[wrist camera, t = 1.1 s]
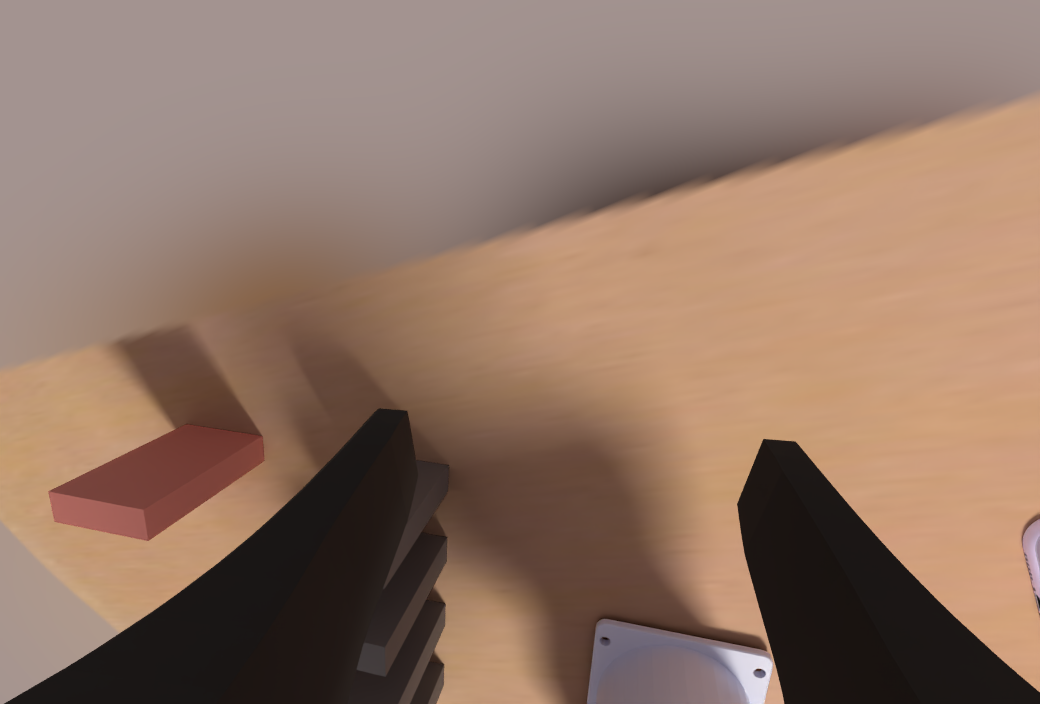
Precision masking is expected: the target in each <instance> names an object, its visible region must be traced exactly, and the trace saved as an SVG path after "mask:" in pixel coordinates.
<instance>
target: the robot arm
mask: <svg viewBox="0 0 1040 704" xmlns="http://www.w3.org/2000/svg"><path fill="white" fill-rule="evenodd" d="M417 479H418V470H417V464H416V458H415V452H414V447H413V441H412V435H411V429H410V423H409V417H408V412H407V411H403V410H391V409H378V410H377V411H376V412H374V414H373V415H372V416H371V417H370V418H369V419H368V420H367V421H366V422H365V423H364V425H363V426H362V427H361V428H360V429H359V430H358V431H357V432H356V433H355V434H354V436H353V437H352V438H351V439H350V440H349V441H348V442H347V443H346V444H345V445H344V446H343V447H342V449H341V450H340V451H339V452H338V453H337V454H336V455H335V456H334V457H333V458H332V459H331V460H330V461H329V462H328V463H327V464H326V465H325V466H324V467H323V468H322V469H321V470H320V471H319V472H318V473H317V474H316V475H315V477H314V478H313V479H312V480H311V481H310V482H309V483H308V484H307V485H306V486H305V487H304V488H303V489H302V490H301V491H300V492H299V493H297V494H296V495H295V496H294V497H293V498H292V499H291V500H290V501H289V502H288V503H287V504H286V505H285V506H284V507H282V508H281V509H280V510H279V511H278V512H277V513H276V514H275V515H274V516H273V517H272V518H271V519H270V520H269V521H267V522H266V523H265V524H264V525H263V526H262V527H261V528H260V529H258V530H257V531H256V532H255V533H254V534H253V535H252V536H250V537H249V538H248V539H247V540H246V541H244V542H243V543H242V544H241V545H240V546H239V547H237V548H236V549H235V550H234V551H232V552H231V553H230V554H229V555H227V556H226V557H225V558H224V559H223V560H221V561H220V562H219V563H218V564H216V565H215V566H214V567H212V568H211V569H210V570H208V571H207V572H206V573H205V574H203V575H202V576H201V577H199V578H198V579H197V580H195V581H194V582H193V583H191V584H190V585H189V586H187V587H186V588H185V589H183V590H182V591H181V592H179V593H178V594H177V595H175V596H174V597H172V598H171V599H170V600H168V601H167V602H165V603H164V604H163V605H161V606H160V607H158V608H157V609H156V610H154V611H153V612H151V613H150V614H148V615H147V616H145V617H144V618H142V619H141V620H139V621H138V622H136V623H135V624H133V625H132V626H130V627H129V628H127V629H126V630H124V631H123V632H121V633H120V634H118V635H116V636H115V637H113V638H112V639H110V640H109V641H107V642H106V643H104V644H103V645H101V646H100V647H98V648H97V649H95V650H94V651H92V652H91V653H89V654H87V655H86V656H84V657H83V658H81V659H79V660H78V661H76V662H75V663H73V664H71V665H70V666H68V667H67V668H65V669H63V670H61V671H60V672H58V673H56V674H54V675H53V676H51V677H49V678H47V679H46V680H44V681H43V682H41V683H39V684H37V685H35V686H34V687H32V688H31V689H29V690H27V691H25V692H23V693H22V694H20V695H18V696H17V697H15V698H13V699H12V700H10V701H8V702H6V703H5V704H348V700H349V696H350V692H351V688H352V684H353V681H354V677H355V673H356V670H357V666H358V662H359V658H360V655H361V651H362V647H363V644H364V641H365V638H366V635H367V631H368V628H369V625H370V622H371V619H372V617H373V614H374V611H375V609H376V606H377V603H378V601H379V598H380V595H381V592H382V590H383V587H384V584H385V582H386V579H387V576H388V573H389V571H390V568H391V565H392V563H393V560H394V557H395V554H396V552H397V549H398V546H399V543H400V541H401V538H402V535H403V532H404V530H405V527H406V524H407V521H408V517H409V513H410V509H411V505H412V501H413V497H414V493H415V488H416V484H417ZM737 506H738V513H739V520H740V528H741V534H742V541H743V547H744V553H745V557H746V561H747V564H748V568H749V572H750V575H751V579H752V583H753V586H754V590H755V594H756V597H757V601H758V604H759V608H760V611H761V615H762V618H763V622H764V626H765V629H766V633H767V636H768V640H769V643H770V647H771V650H772V654H773V658H774V661H775V665H776V668H777V672H778V677H779V681H780V685H781V689H782V693H783V698H784V704H1040V692H1039V691H1037V690H1036V689H1035V688H1034V687H1033V686H1031V685H1030V684H1029V683H1028V682H1027V681H1025V680H1024V679H1023V678H1022V677H1021V676H1020V675H1018V674H1017V673H1016V672H1015V671H1014V670H1013V669H1012V668H1010V667H1009V666H1008V665H1007V664H1006V663H1005V662H1003V661H1002V660H1001V659H1000V658H999V657H998V656H997V655H996V654H994V653H993V652H992V651H991V650H990V649H989V648H988V647H987V646H986V645H985V644H984V643H983V642H981V641H980V640H979V639H978V638H977V637H976V636H975V635H974V634H973V633H972V632H971V631H969V630H968V629H967V628H966V627H965V626H964V625H963V624H962V623H961V622H960V621H959V620H958V619H956V618H955V617H954V616H953V615H952V614H951V613H950V612H949V611H948V610H947V609H946V608H945V607H944V606H943V605H942V604H941V603H940V602H939V601H938V600H937V599H936V598H935V597H934V596H933V595H932V594H931V593H930V592H929V591H928V590H927V589H926V588H925V587H924V586H923V585H922V584H921V583H920V582H919V581H918V580H917V579H916V578H915V577H914V576H913V575H912V574H911V573H910V572H909V571H908V570H907V569H906V568H905V567H904V566H903V565H902V563H901V562H900V561H899V560H898V559H897V558H896V557H895V556H894V555H893V554H892V553H891V552H890V551H889V550H888V548H887V547H886V546H885V545H884V544H883V543H882V542H881V541H880V540H879V539H878V537H877V536H876V535H875V534H874V533H873V532H872V531H871V530H870V528H869V527H868V526H867V525H866V524H865V523H864V522H863V521H862V519H861V518H860V517H859V516H858V515H857V514H856V513H855V511H854V510H853V509H852V508H851V507H850V506H849V504H848V503H847V502H846V501H845V500H844V499H843V497H842V496H841V495H840V494H839V493H838V492H837V490H836V489H835V488H834V487H833V486H832V484H831V483H830V482H829V481H828V480H827V478H826V477H825V476H824V475H823V474H822V473H821V471H820V470H819V469H818V468H817V467H816V465H815V464H814V463H813V462H812V461H811V459H810V458H809V457H808V456H807V455H806V453H805V452H804V451H803V450H802V449H801V447H800V446H799V445H798V444H797V443H796V442H794V441H781V440H768V439H763V441H762V444H761V446H760V449H759V451H758V454H757V456H756V459H755V461H754V464H753V466H752V469H751V471H750V474H749V476H748V479H747V481H746V484H745V486H744V489H743V491H742V493H741V496H740V498H739V501H738V503H737ZM602 637H607V638H609V639H608V640H605V639H602ZM772 668H773V661H772V658H771V656H770V654H769V653H768V652H766V651H764V650H761V649H756V648H751V647H746V646H741V645H736V644H731V643H726V642H720V641H715V640H710V639H705V638H700V637H695V636H690V635H685V634H680V633H675V632H670V631H665V630H660V629H655V628H650V627H645V626H640V625H635V624H630V623H625V622H620V621H615V620H610V619H602V620H599V621H598V622H597V625H596V631H595V639H594V648H593V656H592V664H591V673H590V681H589V689H588V698H587V704H764V702H765V698H766V693H767V689H768V685H769V681H770V677H771V673H772ZM756 669H762V670H761V671H756Z"/></svg>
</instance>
